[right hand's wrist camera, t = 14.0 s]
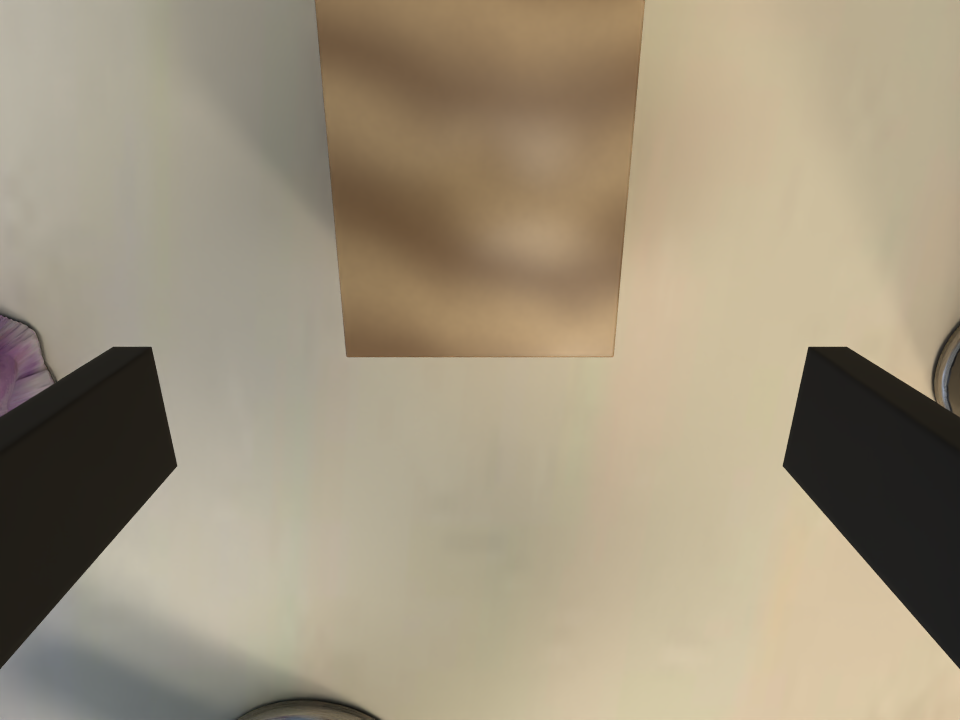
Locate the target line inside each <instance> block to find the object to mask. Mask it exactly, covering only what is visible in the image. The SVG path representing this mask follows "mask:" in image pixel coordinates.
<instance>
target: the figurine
mask: <svg viewBox="0 0 960 720" xmlns="http://www.w3.org/2000/svg"><path fill="white" fill-rule="evenodd" d="M41 354H42V351H41V349H40V343H39V341H38V338H37V336H36V333H35V332H34V331H33V330H32V329H29V328H28V326H27V325H23V324H22V323H18V322H17V321H13V320H12V319H8V318H7V317H3V316H2V315H0V417H1V416H3V415H4V414H6V413H8V412H9V411H11V410H12V409H14V408H16V407H17V406H19V405H20V404H22V403H24V402H25V401H27V400H28V399H30V398H32V397H33V396H35V395H37V394H38V393H40V392H41V391H43V390H45V389H46V388H48V387H49V386H51V385H53V384H54V381H53V379H52V377H51V375H50V373H49V371H48V369H47V367H46V366H45V365H44V360H43V357H42V355H41Z"/></svg>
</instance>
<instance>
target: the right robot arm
mask: <svg viewBox="0 0 960 720" xmlns="http://www.w3.org/2000/svg"><path fill="white" fill-rule="evenodd" d="M176 467H177V462H176V458H175V453H174V449H173V444H172V439H171V435H170V430H169V425H168V421H167V416H166V412H165V407H164V402H163V398H162V393H161V389H160V384H159V379H158V375H157V370H156V365H155V361H154V356H153V352H152V347H112V348H111V349H109V350H107V351H106V352H104V353H103V354H101V355H99V356H98V357H96V358H94V359H93V360H91V361H90V362H88V363H86V364H85V365H83V366H82V367H80V368H78V369H77V370H75V371H74V372H72V373H70V374H69V375H67V376H66V377H64V378H62V379H61V380H59V381H57V382H56V383H54V384H53V385H51V386H49V387H48V388H46V389H45V390H43V391H41V392H40V393H38V394H37V395H35V396H33V397H32V398H30V399H28V400H27V401H25V402H24V403H22V404H20V405H19V406H17V407H16V408H14V409H12V410H11V411H9V412H8V413H6V414H4V415H3V416H1V417H0V669H1V667H2V666H3V665H4V664H5V663H6V662H7V661H8V659H9V658H10V657H11V656H12V655H13V654H14V653H15V651H16V650H17V649H18V648H19V647H20V646H21V645H22V643H23V642H24V641H25V640H26V639H27V638H28V637H29V635H30V634H31V633H32V632H33V631H34V630H35V629H36V627H37V626H38V625H39V624H40V623H41V622H42V620H43V619H44V618H45V617H46V616H47V615H48V614H49V612H50V611H51V610H52V609H53V608H54V607H55V606H56V604H57V603H58V602H59V601H60V600H61V599H62V598H63V596H64V595H65V594H66V593H67V592H68V591H69V590H70V588H71V587H72V586H73V585H74V584H75V583H76V582H77V580H78V579H79V578H80V577H81V576H82V575H83V573H84V572H85V571H86V570H87V569H88V568H89V567H90V565H91V564H92V563H93V562H94V561H95V560H96V559H97V557H98V556H99V555H100V554H101V553H102V552H103V551H104V549H105V548H106V547H107V546H108V545H109V544H110V543H111V541H112V540H113V539H114V538H115V537H116V536H117V535H118V533H119V532H120V531H121V530H122V529H123V528H124V526H125V525H126V524H127V523H128V522H129V521H130V520H131V518H132V517H133V516H134V515H135V514H136V513H137V512H138V510H139V509H140V508H141V507H142V506H143V505H144V504H145V502H146V501H147V500H148V499H149V498H150V497H151V496H152V494H153V493H154V492H155V491H156V490H157V489H158V488H159V486H160V485H161V484H162V483H163V482H164V481H165V479H166V478H167V477H168V476H169V475H170V474H171V473H172V471H173V470H174V469H175V468H176ZM783 467H784V468H785V469H786V470H787V471H788V473H789V474H790V475H791V476H792V477H793V478H794V479H795V481H796V482H797V483H798V484H799V485H800V486H801V488H802V489H803V490H804V491H805V492H806V493H807V494H808V496H809V497H810V498H811V499H812V500H813V501H814V502H815V504H816V505H817V506H818V507H819V508H820V509H821V510H822V512H823V513H824V514H825V515H826V516H827V517H828V518H829V520H830V521H831V522H832V523H833V524H834V525H835V526H836V528H837V529H838V530H839V531H840V532H841V533H842V535H843V536H844V537H845V538H846V539H847V540H848V541H849V543H850V544H851V545H852V546H853V547H854V548H855V549H856V551H857V552H858V553H859V554H860V555H861V556H862V557H863V559H864V560H865V561H866V562H867V563H868V564H869V565H870V567H871V568H872V569H873V570H874V571H875V572H876V573H877V575H878V576H879V577H880V578H881V579H882V580H883V582H884V583H885V584H886V585H887V586H888V587H889V588H890V590H891V591H892V592H893V593H894V594H895V595H896V596H897V598H898V599H899V600H900V601H901V602H902V603H903V604H904V606H905V607H906V608H907V609H908V610H909V611H910V612H911V614H912V615H913V616H914V617H915V618H916V619H917V620H918V622H919V623H920V624H921V625H922V626H923V627H924V629H925V630H926V631H927V632H928V633H929V634H930V635H931V637H932V638H933V639H934V640H935V641H936V642H937V643H938V645H939V646H940V647H941V648H942V649H943V650H944V651H945V653H946V654H947V655H948V656H949V657H950V658H951V659H952V661H953V662H954V663H955V664H956V665H957V666H958V667H959V669H960V417H959V416H957V415H956V414H954V413H952V412H951V411H949V410H948V409H946V408H944V407H943V406H941V405H940V404H938V403H936V402H935V401H933V400H932V399H930V398H928V397H927V396H925V395H923V394H922V393H920V392H919V391H917V390H915V389H914V388H912V387H911V386H909V385H907V384H906V383H904V382H903V381H901V380H899V379H898V378H896V377H894V376H893V375H891V374H890V373H888V372H886V371H885V370H883V369H882V368H880V367H878V366H877V365H875V364H874V363H872V362H870V361H869V360H867V359H866V358H864V357H862V356H861V355H859V354H857V353H856V352H854V351H853V350H851V349H849V348H848V347H808V352H807V356H806V361H805V365H804V370H803V375H802V379H801V384H800V389H799V393H798V398H797V402H796V407H795V412H794V416H793V421H792V425H791V430H790V435H789V439H788V444H787V449H786V453H785V458H784V462H783ZM237 720H375V719H373V718H372V717H370V716H368V715H366V714H364V713H362V712H359V711H357V710H354V709H352V708H349V707H345V706H342V705H338V704H334V703H328V702H321V701H308V700H299V701H286V702H279V703H274V704H270V705H266V706H263V707H260V708H258V709H255V710H253V711H251V712H249V713H247V714H245V715H243V716H242V717H240V718H239V719H237Z"/></svg>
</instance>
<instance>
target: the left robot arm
mask: <svg viewBox="0 0 960 720" xmlns="http://www.w3.org/2000/svg"><path fill="white" fill-rule="evenodd" d="M934 390H935V396H936V400H937V403H938V404H940V405H941V406H943V407H944V408H946V409H948V410H949V411H951V412H952V413H954V414H956V415H957V416H959V417H960V326H959V327H958V328H957V329H956V330H955V332H954V333H953V335H952V336H951V337H950V339H949V340H948V342H947V344H946V345H945V347H944V349H943V351H942V353H941V355H940V358H939V360H938V364H937V367H936V372H935V379H934Z"/></svg>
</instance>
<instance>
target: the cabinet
mask: <svg viewBox="0 0 960 720" xmlns="http://www.w3.org/2000/svg"><path fill="white" fill-rule="evenodd" d="M644 5H645V0H315V7H316V19H317V30H318V41H319V53H320V64H321V75H322V87H323V98H324V109H325V121H326V132H327V143H328V155H329V166H330V177H331V188H332V200H333V211H334V222H335V234H336V245H337V256H338V268H339V279H340V290H341V302H342V313H343V324H344V336H345V347H346V356H347V357H613V356H614V345H615V334H616V323H617V311H618V300H619V289H620V277H621V266H622V255H623V243H624V232H625V221H626V209H627V198H628V187H629V175H630V164H631V153H632V141H633V130H634V119H635V107H636V96H637V84H638V73H639V62H640V50H641V39H642V28H643V16H644Z"/></svg>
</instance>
